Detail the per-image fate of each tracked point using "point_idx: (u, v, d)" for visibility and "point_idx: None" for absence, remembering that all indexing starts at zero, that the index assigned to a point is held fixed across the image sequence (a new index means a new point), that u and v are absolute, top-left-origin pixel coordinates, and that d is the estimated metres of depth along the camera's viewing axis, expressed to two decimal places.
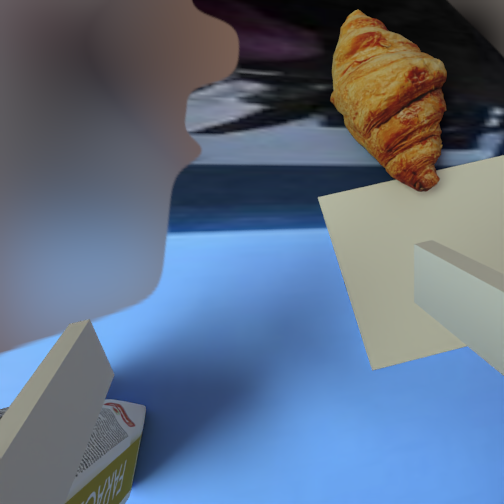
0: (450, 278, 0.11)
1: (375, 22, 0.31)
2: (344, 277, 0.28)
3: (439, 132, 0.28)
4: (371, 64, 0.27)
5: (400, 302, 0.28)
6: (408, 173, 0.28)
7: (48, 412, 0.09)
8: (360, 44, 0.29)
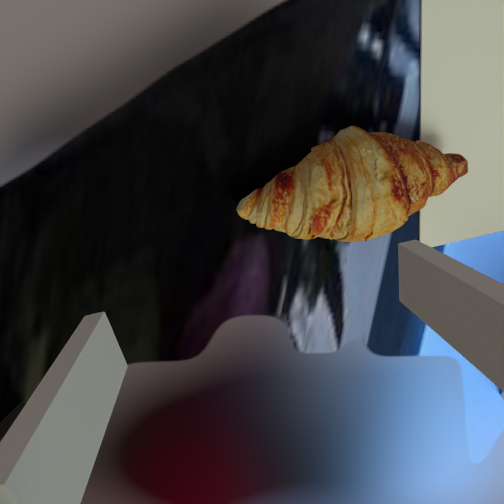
0: (431, 277, 0.11)
1: (280, 201, 0.27)
2: (489, 233, 0.35)
3: (420, 148, 0.27)
4: (364, 227, 0.27)
5: None
6: None
7: (70, 398, 0.09)
8: (321, 227, 0.27)
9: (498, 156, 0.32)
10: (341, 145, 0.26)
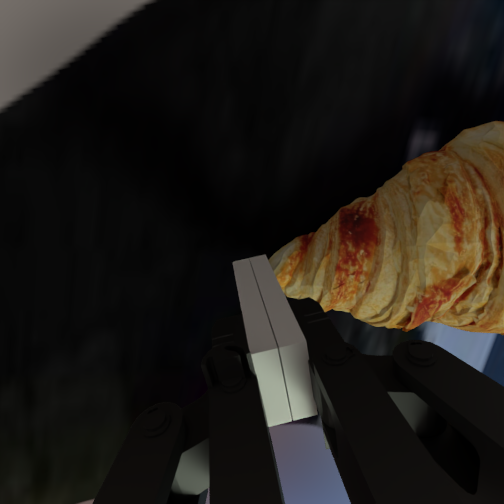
0: None
1: (351, 269, 0.14)
2: None
3: None
4: None
5: None
6: None
7: None
8: (428, 316, 0.14)
9: None
10: (478, 160, 0.13)
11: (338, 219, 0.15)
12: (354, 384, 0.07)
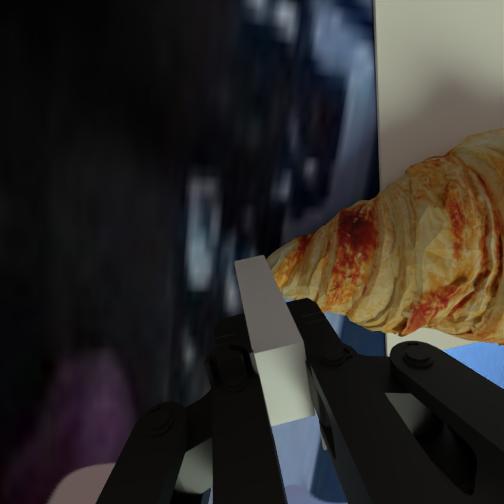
0: None
1: (348, 271, 0.14)
2: None
3: None
4: None
5: None
6: None
7: None
8: (424, 323, 0.14)
9: None
10: (482, 167, 0.13)
11: (337, 221, 0.15)
12: (352, 385, 0.07)
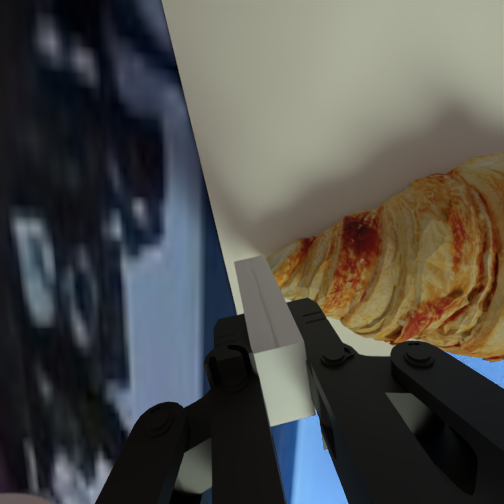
0: None
1: (349, 275, 0.14)
2: None
3: None
4: (501, 346, 0.14)
5: None
6: None
7: None
8: (417, 333, 0.14)
9: None
10: (484, 187, 0.13)
11: (342, 226, 0.15)
12: (352, 385, 0.07)
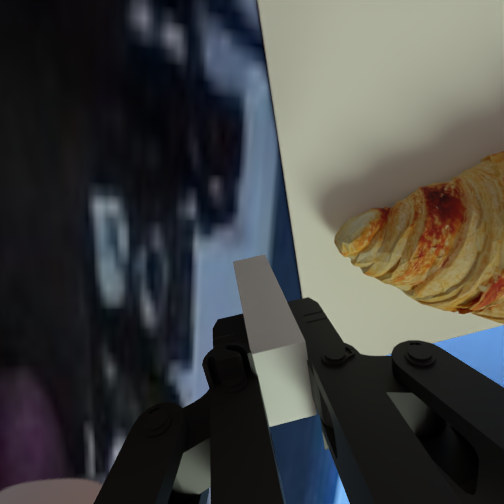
0: None
1: (434, 241, 0.14)
2: None
3: None
4: None
5: None
6: None
7: None
8: (493, 300, 0.15)
9: None
10: None
11: (423, 194, 0.15)
12: (353, 384, 0.07)
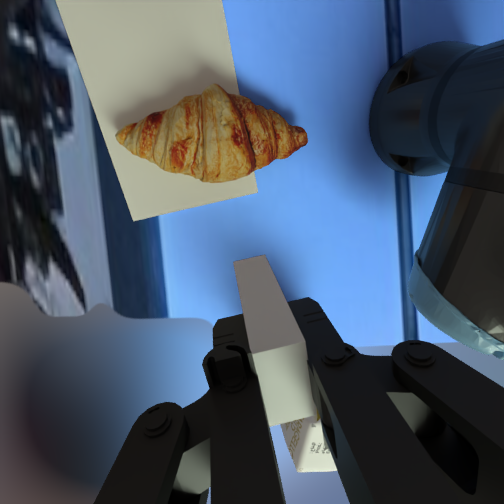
0: None
1: (148, 132, 0.33)
2: (196, 206, 0.40)
3: (268, 114, 0.35)
4: (212, 165, 0.33)
5: None
6: (293, 151, 0.37)
7: None
8: (180, 160, 0.33)
9: None
10: (202, 96, 0.33)
11: (150, 114, 0.34)
12: (353, 384, 0.07)
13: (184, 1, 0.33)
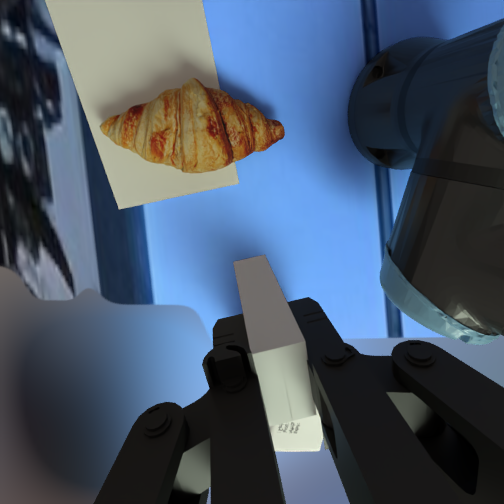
0: None
1: (129, 123, 0.35)
2: (179, 195, 0.42)
3: (245, 107, 0.36)
4: (189, 155, 0.35)
5: None
6: (270, 144, 0.38)
7: None
8: (159, 150, 0.35)
9: None
10: (181, 89, 0.34)
11: (132, 106, 0.35)
12: (353, 384, 0.07)
13: None
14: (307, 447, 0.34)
